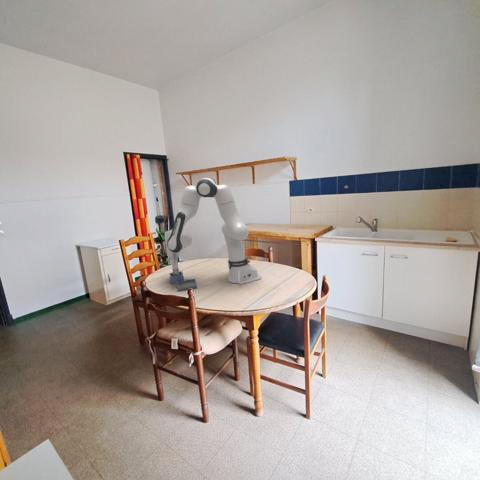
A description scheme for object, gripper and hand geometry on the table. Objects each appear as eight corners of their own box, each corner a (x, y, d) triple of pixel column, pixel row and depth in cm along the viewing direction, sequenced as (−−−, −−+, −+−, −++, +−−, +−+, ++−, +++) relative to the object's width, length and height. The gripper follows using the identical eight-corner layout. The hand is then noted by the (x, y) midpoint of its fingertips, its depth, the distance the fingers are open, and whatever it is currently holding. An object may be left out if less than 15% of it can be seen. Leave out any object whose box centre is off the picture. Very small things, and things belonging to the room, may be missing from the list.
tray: (195, 281, 177) (195, 278, 176) (197, 288, 165) (197, 284, 165) (177, 284, 174) (177, 281, 173) (178, 291, 162) (177, 287, 162)
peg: (179, 279, 184) (178, 266, 181) (180, 281, 180) (178, 267, 178) (174, 280, 183) (172, 266, 180) (174, 282, 179) (172, 268, 177)
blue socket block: (183, 277, 186) (182, 271, 185) (184, 282, 178) (183, 275, 177) (170, 279, 184) (169, 273, 183) (170, 284, 176) (169, 277, 175)
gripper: (178, 255, 168) (181, 275, 171) (177, 248, 187) (179, 267, 190) (168, 256, 166) (171, 277, 169) (168, 249, 186) (171, 268, 189)
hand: (176, 271), depth 180 cm, fingers closed on peg, 4 cm apart
